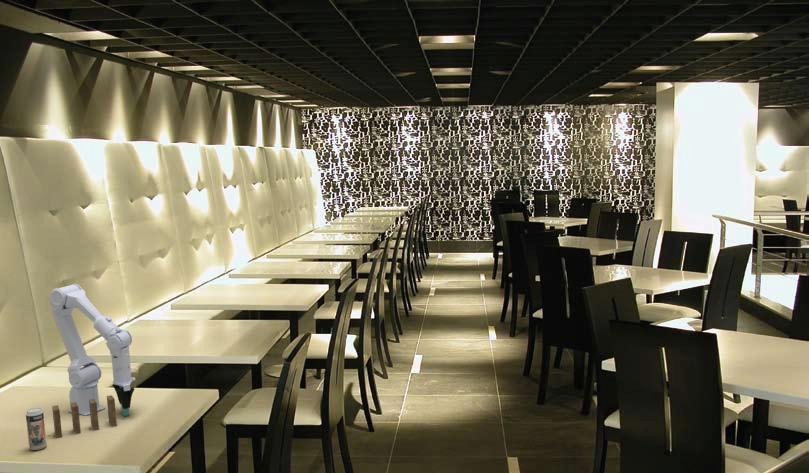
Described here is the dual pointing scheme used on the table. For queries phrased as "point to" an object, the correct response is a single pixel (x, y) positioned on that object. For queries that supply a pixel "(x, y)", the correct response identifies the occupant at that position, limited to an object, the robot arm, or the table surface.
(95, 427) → the domino
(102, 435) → the table surface
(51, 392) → the table surface
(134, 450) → the table surface
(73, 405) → the domino
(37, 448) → the beer can
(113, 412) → the domino
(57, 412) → the domino
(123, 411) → the domino
